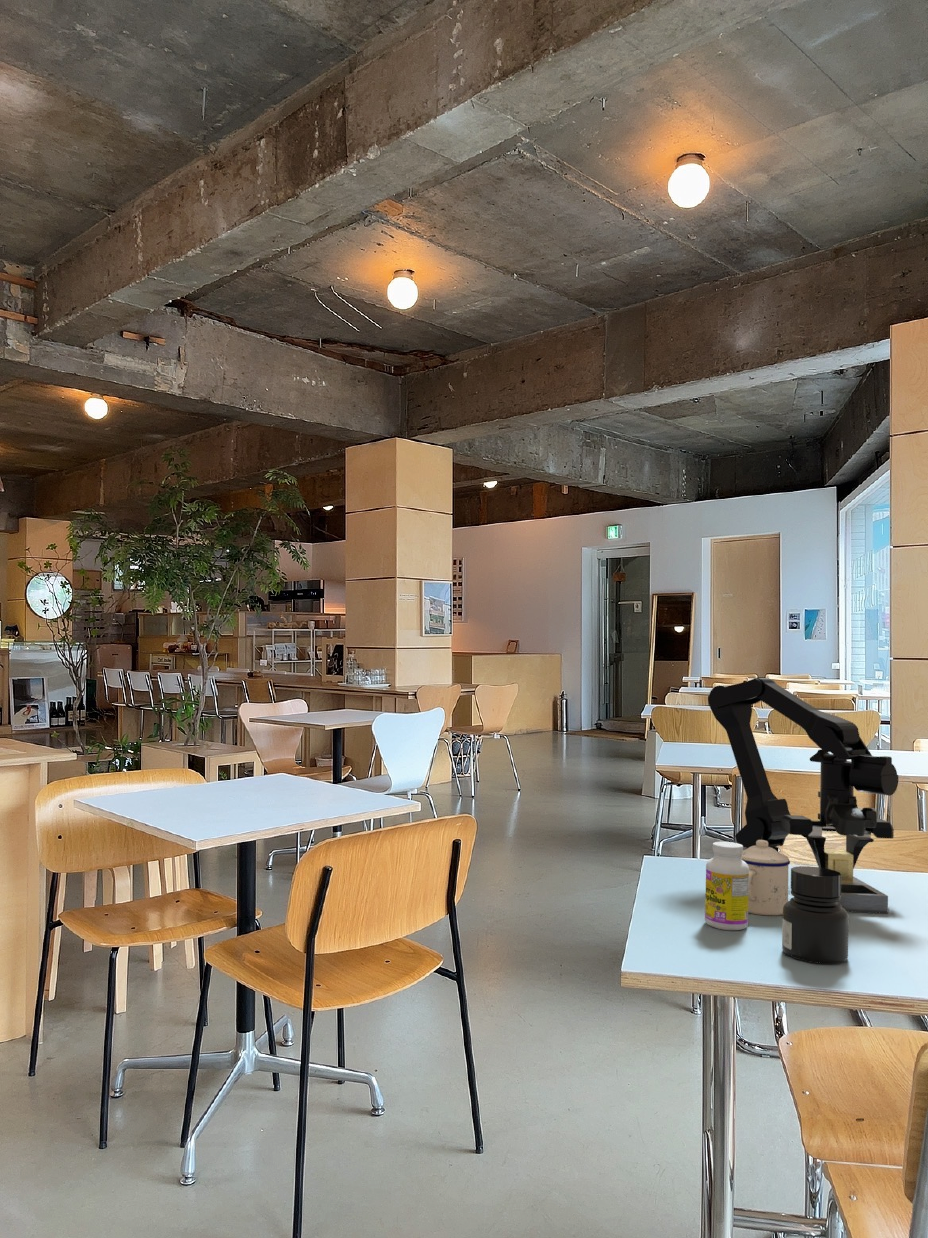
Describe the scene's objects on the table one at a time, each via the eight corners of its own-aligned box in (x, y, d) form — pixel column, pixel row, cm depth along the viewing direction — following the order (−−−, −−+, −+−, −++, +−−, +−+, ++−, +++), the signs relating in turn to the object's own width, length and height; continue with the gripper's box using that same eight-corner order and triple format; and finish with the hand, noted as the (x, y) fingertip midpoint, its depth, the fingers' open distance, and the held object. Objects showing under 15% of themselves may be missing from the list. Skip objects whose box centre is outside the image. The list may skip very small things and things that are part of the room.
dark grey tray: (834, 911, 156) (835, 894, 156) (804, 890, 171) (804, 874, 171) (887, 913, 156) (888, 896, 156) (852, 892, 171) (852, 876, 171)
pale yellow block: (829, 882, 165) (829, 854, 165) (818, 875, 170) (818, 848, 170) (854, 883, 165) (854, 855, 165) (842, 876, 170) (842, 849, 170)
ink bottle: (799, 942, 137) (800, 861, 138) (858, 956, 131) (859, 872, 132) (770, 955, 130) (771, 870, 131) (831, 971, 124) (832, 882, 125)
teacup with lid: (745, 899, 162) (746, 833, 163) (796, 909, 157) (797, 841, 157) (718, 912, 153) (719, 842, 154) (772, 923, 147) (773, 850, 148)
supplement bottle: (696, 921, 147) (697, 841, 148) (730, 918, 149) (731, 839, 150) (722, 933, 141) (723, 849, 141) (757, 930, 143) (758, 847, 144)
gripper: (801, 792, 161) (799, 882, 160) (908, 796, 160) (907, 886, 159) (780, 784, 172) (779, 868, 171) (880, 788, 171) (879, 872, 170)
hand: (835, 873), depth 167 cm, fingers closed on pale yellow block, 4 cm apart
